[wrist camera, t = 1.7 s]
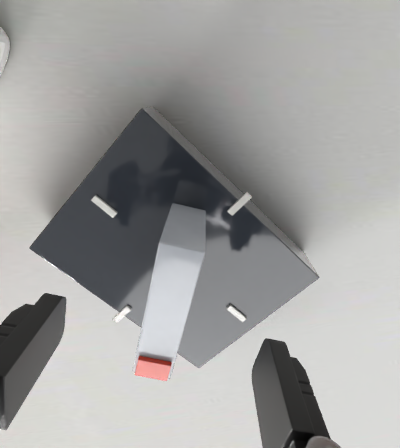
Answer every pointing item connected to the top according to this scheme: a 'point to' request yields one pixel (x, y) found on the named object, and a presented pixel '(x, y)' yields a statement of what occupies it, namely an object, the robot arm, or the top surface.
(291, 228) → the top surface
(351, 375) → the top surface
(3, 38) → the eye dropper bottle
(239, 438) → the top surface
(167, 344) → the red-tipped grey slab
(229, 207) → the dark grey slab base
